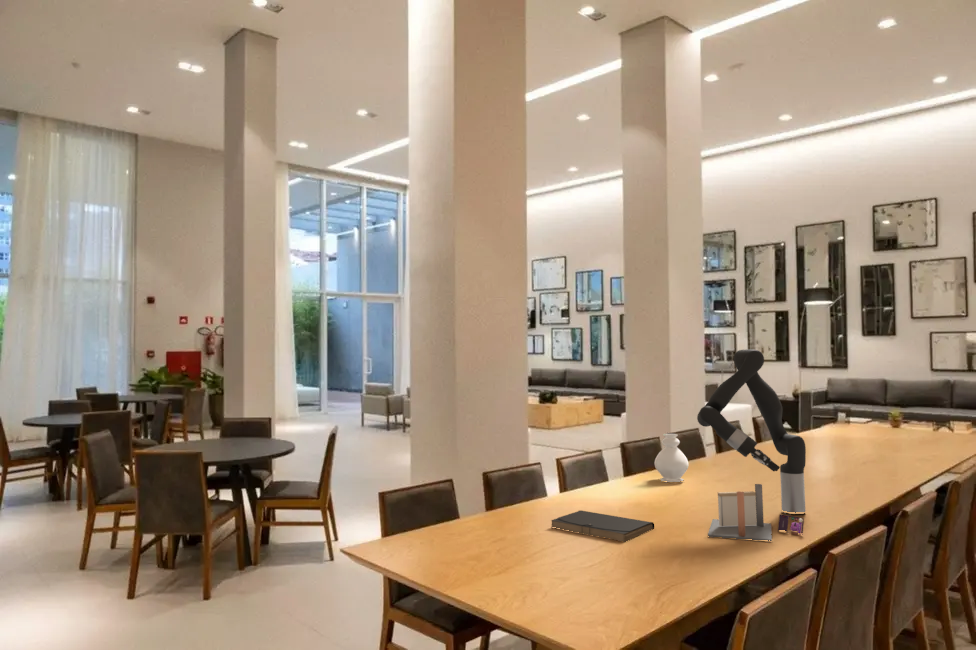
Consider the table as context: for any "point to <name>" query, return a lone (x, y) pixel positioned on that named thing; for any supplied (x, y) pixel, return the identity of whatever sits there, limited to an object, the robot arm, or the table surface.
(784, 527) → the purple decorated picture frame
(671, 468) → the decorative vase
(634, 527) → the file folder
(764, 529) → the board
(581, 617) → the table surface
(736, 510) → the panel
